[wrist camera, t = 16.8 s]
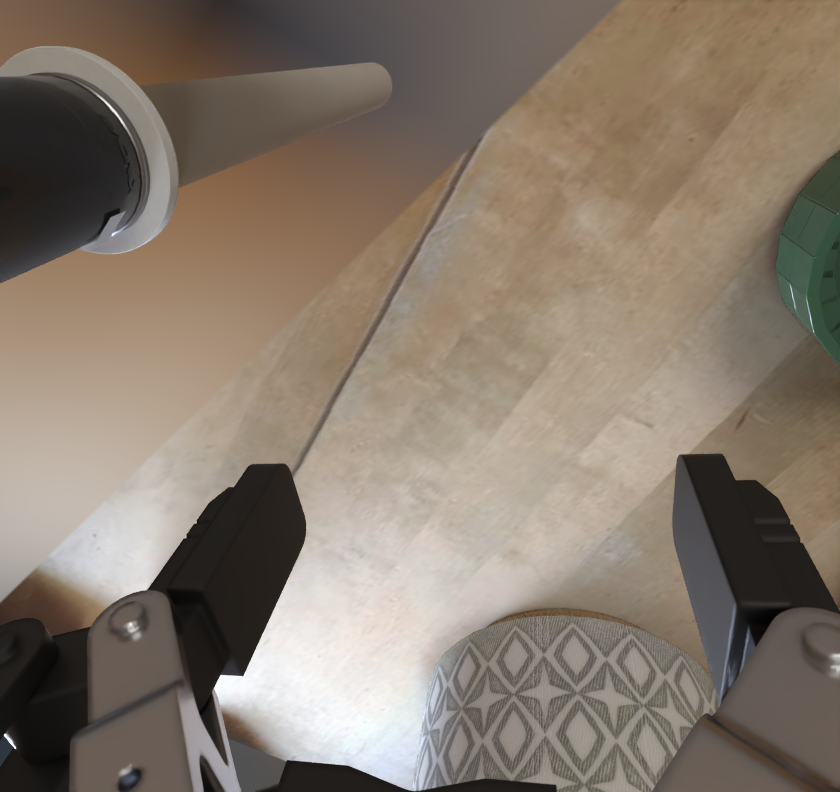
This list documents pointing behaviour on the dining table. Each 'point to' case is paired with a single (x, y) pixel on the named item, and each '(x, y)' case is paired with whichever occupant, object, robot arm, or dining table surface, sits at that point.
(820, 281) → the bowl
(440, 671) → the planter
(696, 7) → the dining table surface
